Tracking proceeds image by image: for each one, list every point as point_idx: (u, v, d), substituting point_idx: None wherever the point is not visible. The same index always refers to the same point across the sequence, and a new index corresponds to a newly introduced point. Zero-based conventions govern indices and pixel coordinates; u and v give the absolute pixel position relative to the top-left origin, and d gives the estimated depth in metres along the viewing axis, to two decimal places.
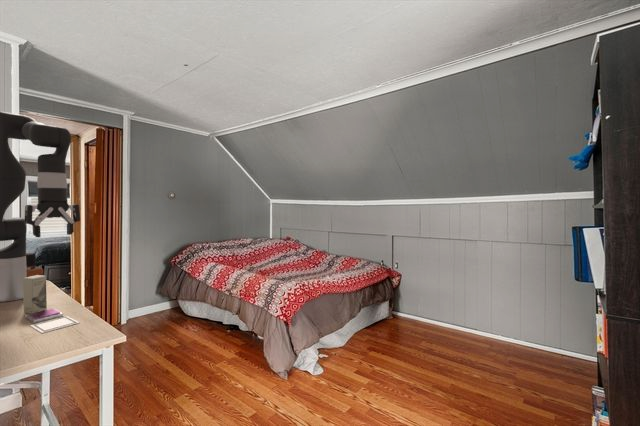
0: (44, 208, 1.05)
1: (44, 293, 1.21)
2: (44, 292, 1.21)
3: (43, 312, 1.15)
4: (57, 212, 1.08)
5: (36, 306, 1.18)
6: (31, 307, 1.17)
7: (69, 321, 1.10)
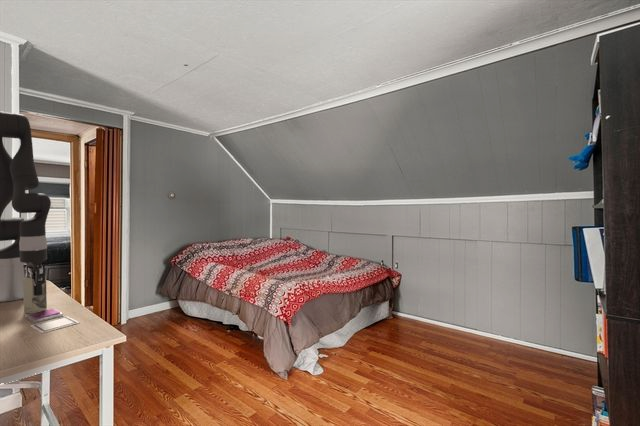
0: None
1: (44, 293, 1.21)
2: (44, 292, 1.21)
3: (43, 312, 1.15)
4: None
5: (36, 306, 1.18)
6: (32, 307, 1.17)
7: (69, 321, 1.10)
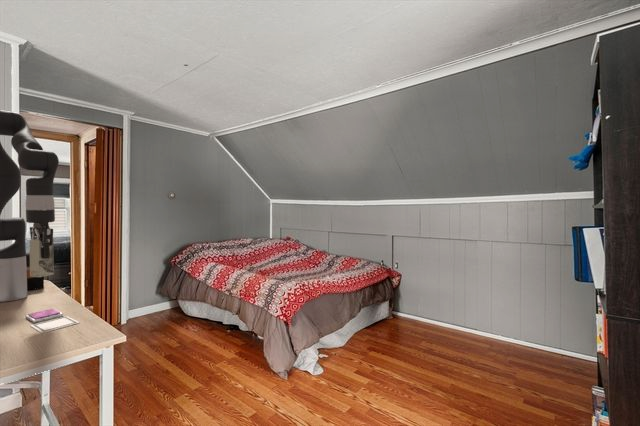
0: None
1: (51, 257, 1.14)
2: (51, 256, 1.14)
3: (43, 312, 1.15)
4: None
5: (43, 269, 1.11)
6: (38, 270, 1.10)
7: (69, 321, 1.10)
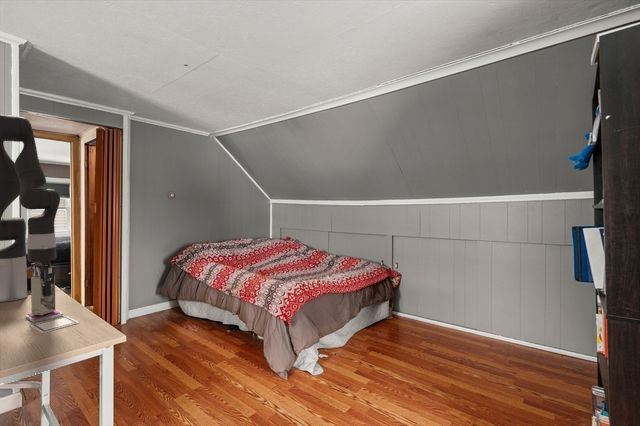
0: None
1: (53, 294, 1.15)
2: (53, 293, 1.15)
3: None
4: None
5: (44, 307, 1.12)
6: (40, 309, 1.11)
7: (69, 321, 1.10)
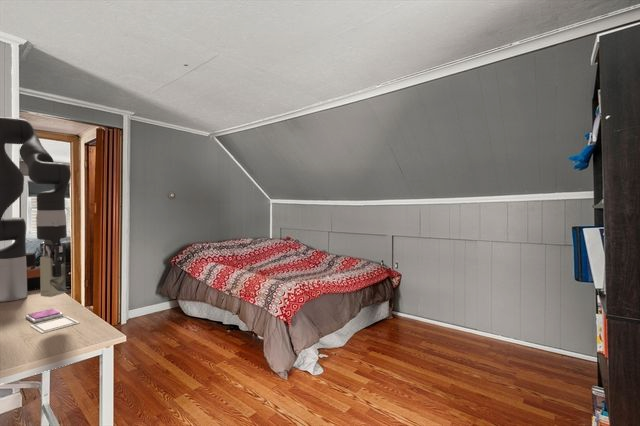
0: None
1: (63, 275, 1.08)
2: (63, 274, 1.08)
3: (43, 312, 1.15)
4: None
5: (54, 289, 1.05)
6: (49, 290, 1.04)
7: (69, 321, 1.10)
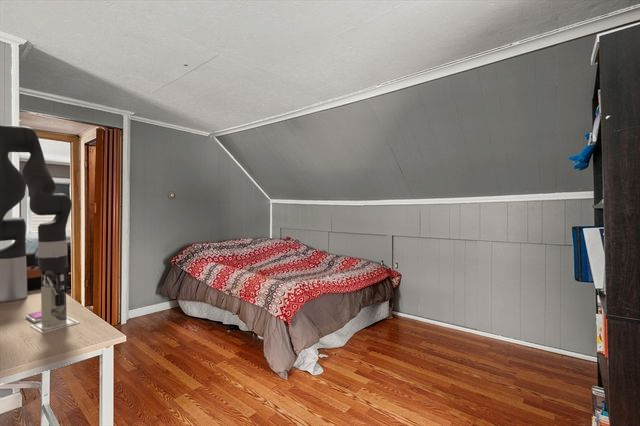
0: None
1: (64, 304, 1.08)
2: (64, 302, 1.08)
3: None
4: None
5: (55, 318, 1.06)
6: (50, 320, 1.04)
7: (69, 321, 1.10)
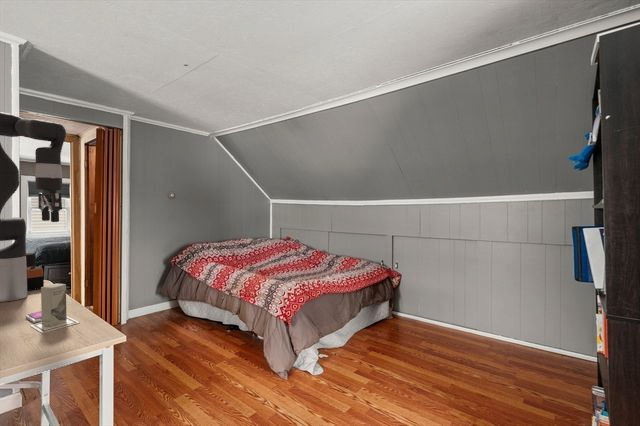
0: None
1: (64, 304, 1.08)
2: (64, 302, 1.08)
3: None
4: None
5: (55, 318, 1.06)
6: (50, 320, 1.04)
7: (69, 321, 1.10)
